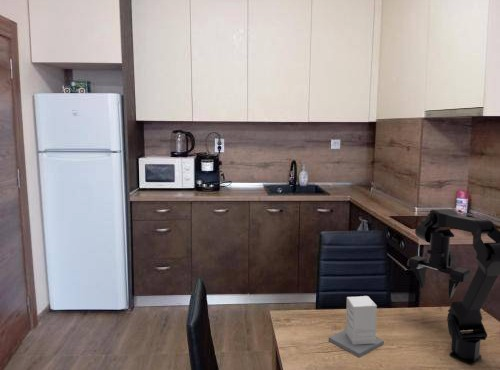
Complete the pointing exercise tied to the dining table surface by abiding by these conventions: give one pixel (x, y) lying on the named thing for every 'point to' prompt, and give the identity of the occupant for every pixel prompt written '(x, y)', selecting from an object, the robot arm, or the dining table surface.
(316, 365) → the dining table surface
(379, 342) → the tile
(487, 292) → the robot arm
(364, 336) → the supplement box
